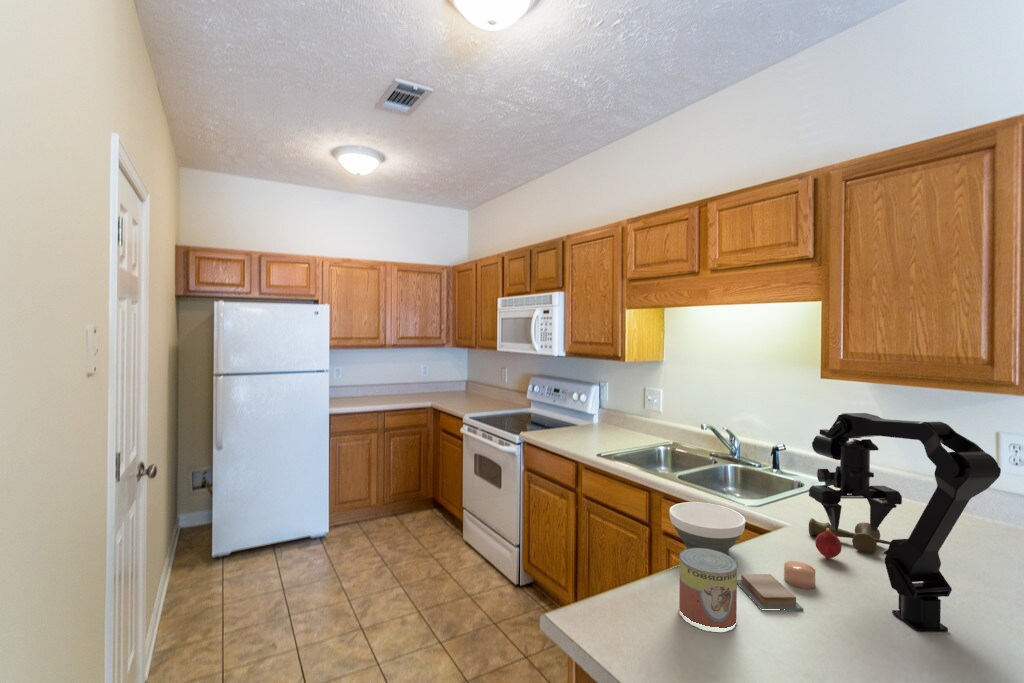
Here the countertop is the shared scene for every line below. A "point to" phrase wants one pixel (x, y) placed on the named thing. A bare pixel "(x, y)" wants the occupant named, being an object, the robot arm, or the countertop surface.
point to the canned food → (708, 587)
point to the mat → (767, 606)
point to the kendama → (852, 535)
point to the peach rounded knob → (799, 574)
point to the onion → (828, 544)
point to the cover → (768, 590)
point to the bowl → (707, 525)
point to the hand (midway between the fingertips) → (854, 530)
